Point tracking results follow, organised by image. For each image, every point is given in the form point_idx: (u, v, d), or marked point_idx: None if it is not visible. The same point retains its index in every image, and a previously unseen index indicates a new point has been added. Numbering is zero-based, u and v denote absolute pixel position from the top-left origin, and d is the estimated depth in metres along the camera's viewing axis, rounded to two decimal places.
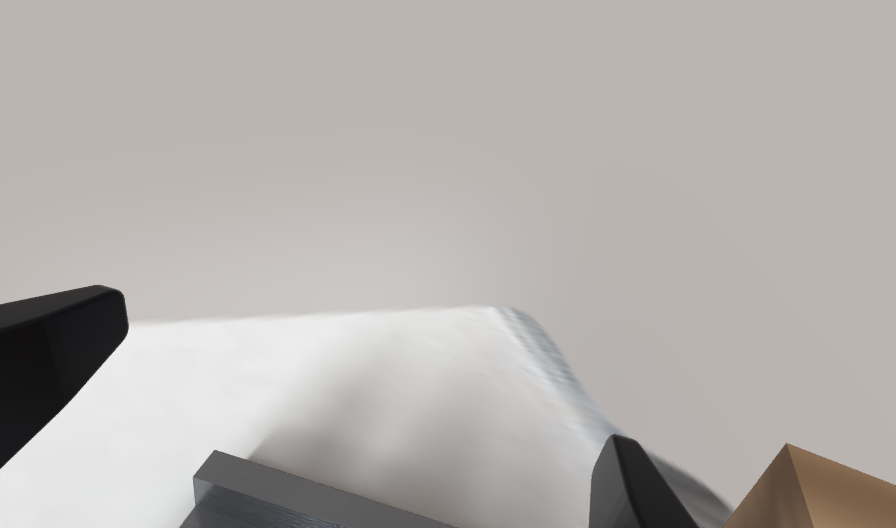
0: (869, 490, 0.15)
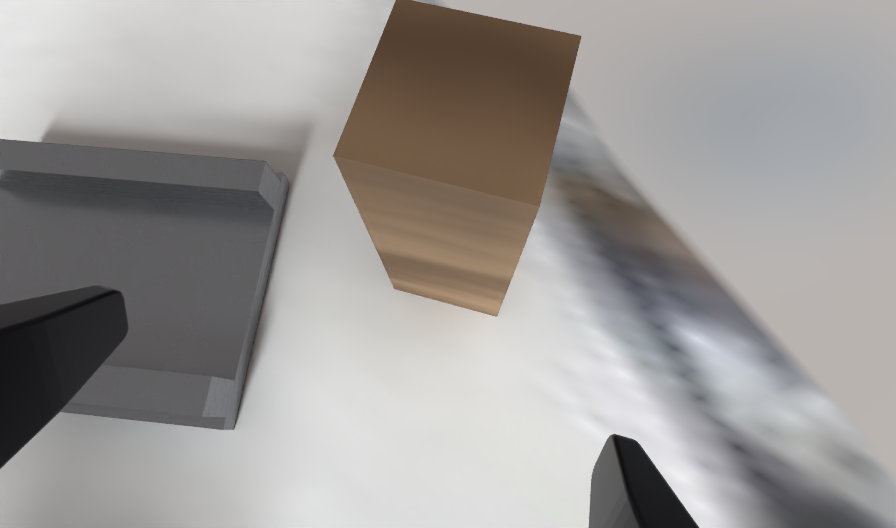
0: (469, 36, 0.12)
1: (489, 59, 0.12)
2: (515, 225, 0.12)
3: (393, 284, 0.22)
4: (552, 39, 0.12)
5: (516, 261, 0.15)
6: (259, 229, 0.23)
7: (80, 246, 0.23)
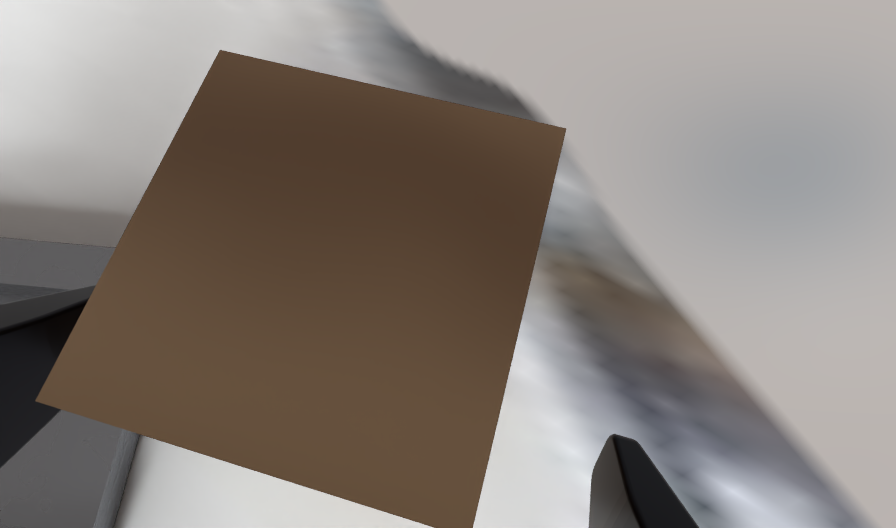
0: (349, 128, 0.06)
1: (384, 178, 0.06)
2: None
3: None
4: (508, 136, 0.06)
5: None
6: None
7: None
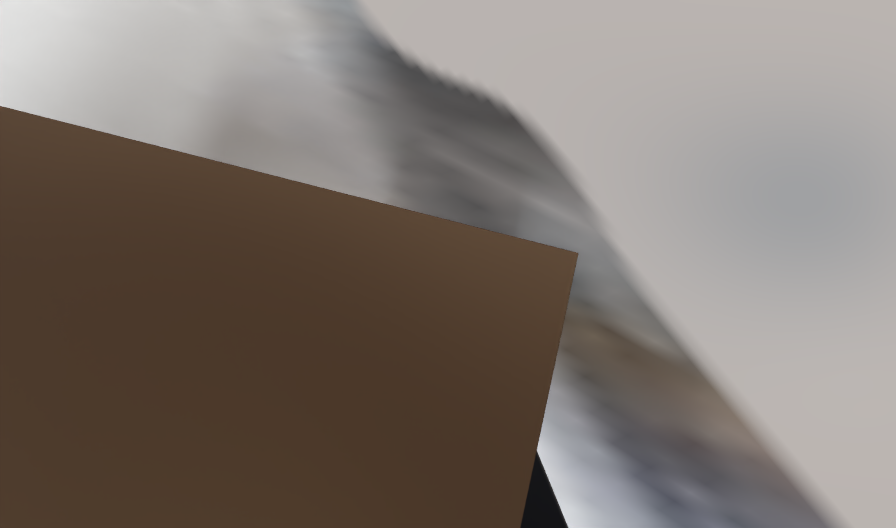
0: (178, 251, 0.03)
1: (232, 354, 0.03)
2: None
3: None
4: (470, 265, 0.03)
5: None
6: None
7: None
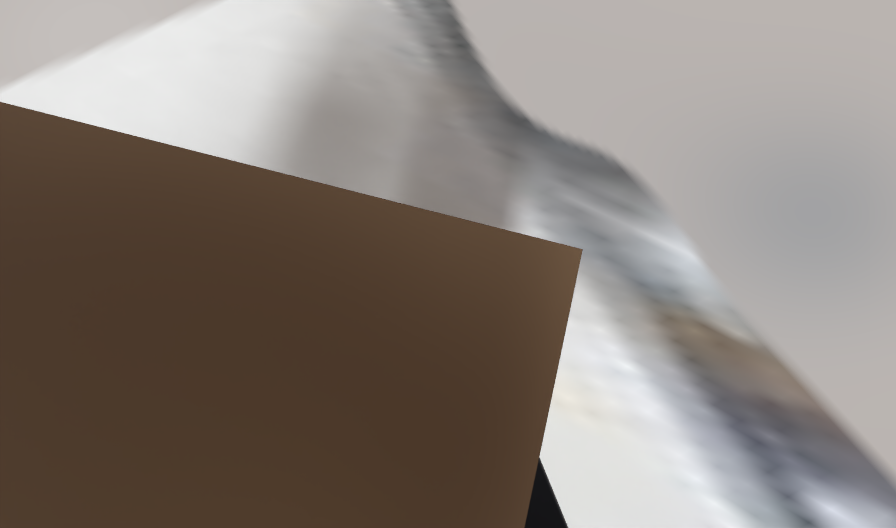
0: (183, 247, 0.04)
1: (237, 349, 0.03)
2: None
3: None
4: (474, 262, 0.03)
5: None
6: None
7: None
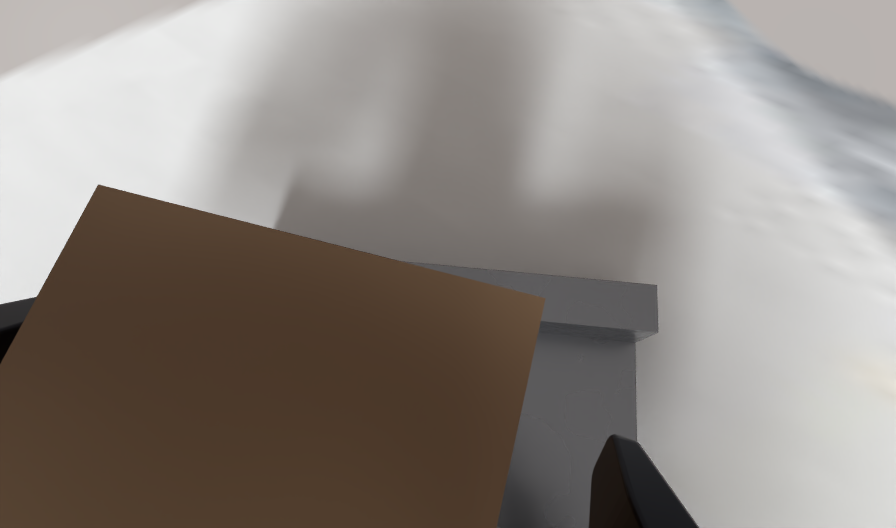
0: (259, 299, 0.05)
1: (302, 373, 0.05)
2: None
3: None
4: (469, 308, 0.05)
5: None
6: (621, 371, 0.16)
7: None
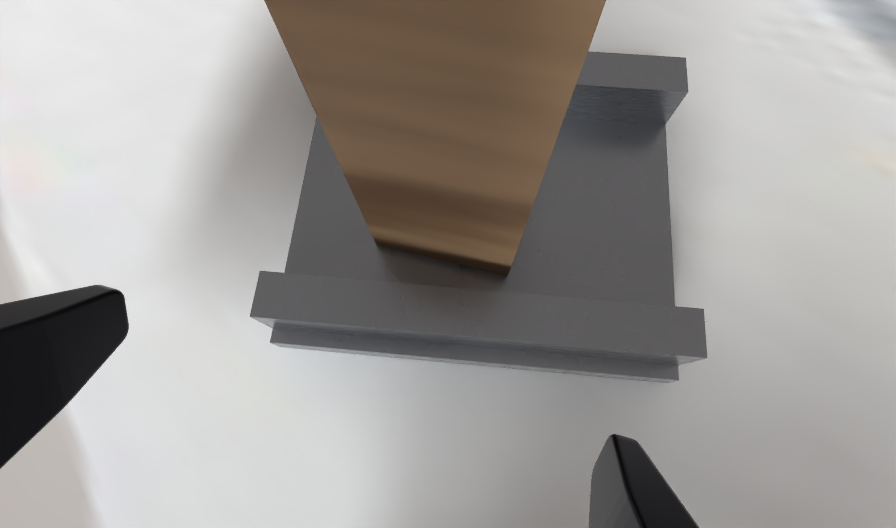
0: None
1: None
2: (553, 69, 0.07)
3: (373, 236, 0.17)
4: None
5: (545, 162, 0.10)
6: (653, 146, 0.19)
7: None
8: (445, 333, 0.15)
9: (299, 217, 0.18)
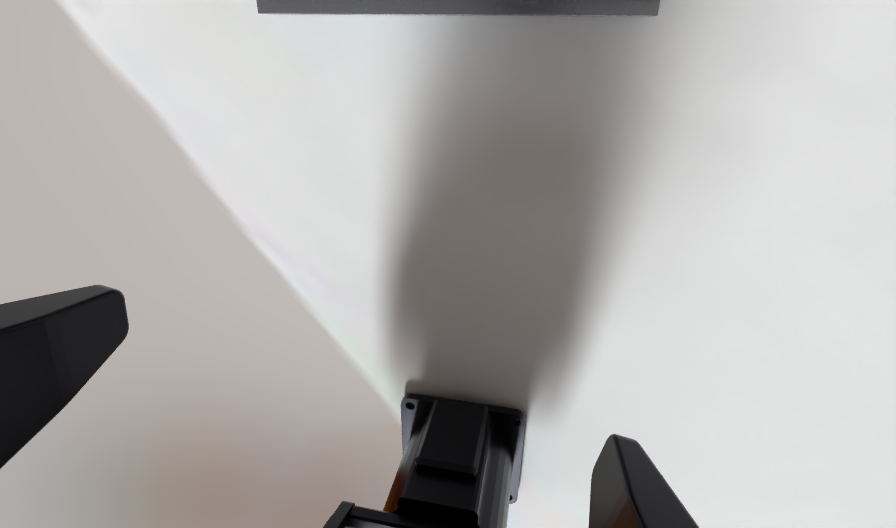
0: None
1: None
2: None
3: None
4: None
5: None
6: None
7: None
8: None
9: None
